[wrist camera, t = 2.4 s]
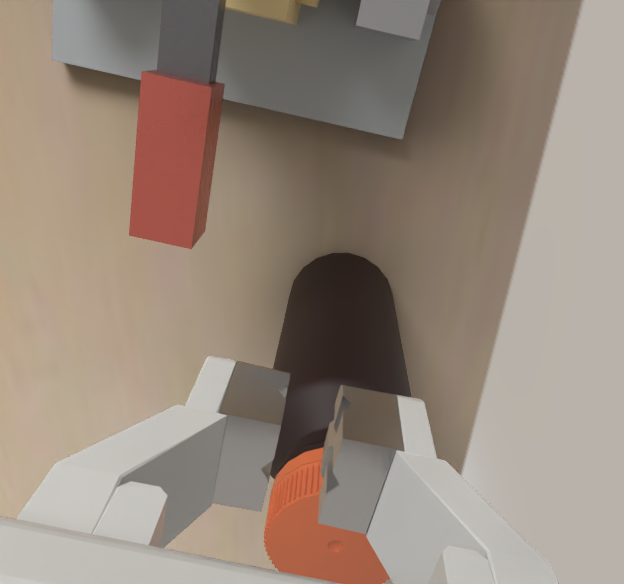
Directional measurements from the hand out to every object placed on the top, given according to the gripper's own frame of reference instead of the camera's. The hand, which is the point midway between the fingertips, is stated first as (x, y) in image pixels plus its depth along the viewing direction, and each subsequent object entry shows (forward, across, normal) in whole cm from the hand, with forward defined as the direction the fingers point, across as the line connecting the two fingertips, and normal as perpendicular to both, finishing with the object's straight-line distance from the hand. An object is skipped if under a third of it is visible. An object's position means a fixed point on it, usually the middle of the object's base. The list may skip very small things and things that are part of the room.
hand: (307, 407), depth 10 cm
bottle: (+25, -2, +9) cm, 27 cm away
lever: (+15, +6, -4) cm, 17 cm away
